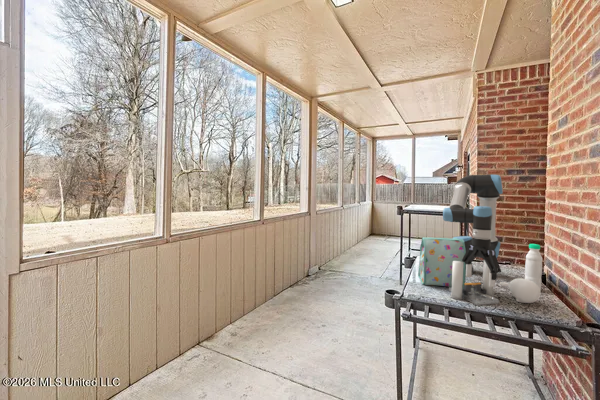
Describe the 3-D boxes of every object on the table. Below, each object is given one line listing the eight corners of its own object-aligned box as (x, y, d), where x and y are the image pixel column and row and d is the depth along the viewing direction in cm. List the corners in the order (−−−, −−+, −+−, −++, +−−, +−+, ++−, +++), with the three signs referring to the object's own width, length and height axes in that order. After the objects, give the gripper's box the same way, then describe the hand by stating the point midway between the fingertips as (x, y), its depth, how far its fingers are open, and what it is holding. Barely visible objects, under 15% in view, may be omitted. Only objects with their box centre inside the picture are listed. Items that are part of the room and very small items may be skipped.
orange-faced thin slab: (463, 291, 137) (464, 283, 137) (478, 290, 138) (479, 282, 138) (465, 292, 135) (466, 284, 135) (481, 291, 137) (481, 283, 137)
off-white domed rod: (478, 294, 141) (479, 259, 140) (487, 293, 142) (488, 259, 141) (487, 298, 135) (489, 262, 135) (496, 297, 136) (498, 262, 136)
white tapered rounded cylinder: (447, 296, 137) (449, 260, 137) (457, 295, 138) (458, 260, 138) (455, 300, 132) (457, 263, 132) (465, 299, 133) (467, 263, 133)
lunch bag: (458, 281, 162) (460, 236, 161) (467, 290, 146) (469, 240, 145) (416, 277, 167) (418, 233, 167) (421, 286, 152) (423, 238, 151)
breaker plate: (448, 291, 145) (449, 283, 145) (468, 289, 147) (468, 282, 147) (476, 305, 127) (476, 296, 127) (498, 303, 129) (498, 295, 129)
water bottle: (534, 292, 145) (537, 245, 145) (520, 287, 152) (523, 243, 152) (544, 291, 147) (546, 245, 147) (530, 286, 154) (532, 242, 153)
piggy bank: (541, 311, 125) (520, 301, 140) (550, 287, 125) (528, 279, 140) (513, 301, 127) (495, 291, 142) (521, 277, 127) (503, 270, 142)
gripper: (455, 234, 144) (453, 273, 144) (497, 243, 119) (495, 291, 120) (467, 233, 145) (466, 273, 146) (512, 242, 120) (510, 290, 121)
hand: (479, 281), depth 133 cm, fingers open, 13 cm apart
